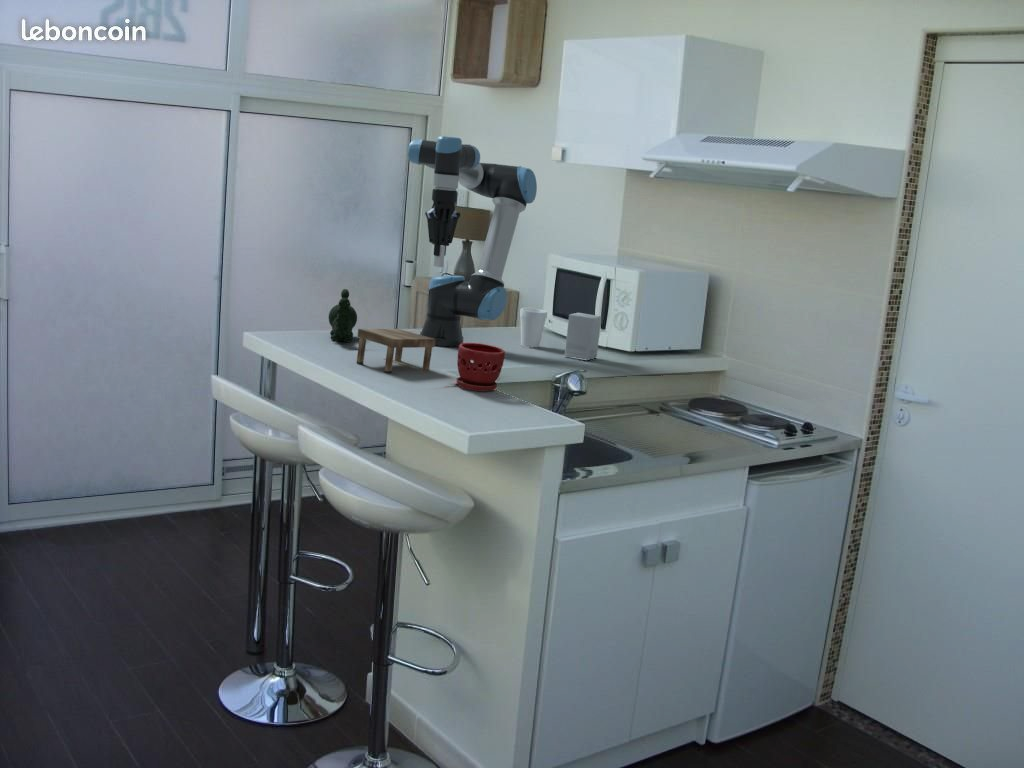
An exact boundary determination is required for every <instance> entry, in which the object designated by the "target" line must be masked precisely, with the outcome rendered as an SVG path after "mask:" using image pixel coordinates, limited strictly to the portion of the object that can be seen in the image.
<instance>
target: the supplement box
mask: <svg viewBox="0 0 1024 768" xmlns="http://www.w3.org/2000/svg"><path fill="white" fill-rule="evenodd" d="M601 324H602V315H601V316H600V315H596V314H595V315H594V314H591V313H589V314H588V313H583V312H576V313H575V312H574V313H570V314H568V322H567V329H566V330H567V331H566V341H565V348H564V356H567V357H576V358H582V359H586V360H590V359H593V358H596V357H597V358H598V350H599V342H600V341H599V340H600V332H601ZM597 358H596V359H597ZM593 360H594V359H593ZM590 361H591V360H590Z"/></svg>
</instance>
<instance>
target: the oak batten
mask: <svg viewBox="0 0 1024 768" xmlns="http://www.w3.org/2000/svg"><path fill="white" fill-rule="evenodd" d="M383 360H384V361H386V358H383ZM393 363H394V364H398V365H399V366H404V367H406V368H410V369H413V370H415V371H419V372H420V371H421V372H423V373H430V370H423V368H419V367H416V366H413V365H410V364H407V363H403V362H402V361H398V362H397V361H395V359H393Z"/></svg>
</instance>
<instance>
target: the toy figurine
mask: <svg viewBox="0 0 1024 768" xmlns="http://www.w3.org/2000/svg"><path fill="white" fill-rule="evenodd" d="M340 297H341V298H340V299H339V302H338V303H337V304H336V305H334V306H333V307H332V308H331V309H330V311H329V312H328V322H329V325H330V326H331V330H330V332H329V334H330V339H331V341H332V342H336V341H345V342H348V343H351V342H352V341H353V337H354V333H353V328H355V326H356V325H357V322H358V314H357V312H356V310H355V308H354V307H353V306H352V305H351V301H350V299H349V297H350V291H349V289H346V288H343V289H342V290H341V293H340Z"/></svg>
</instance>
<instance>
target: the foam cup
mask: <svg viewBox="0 0 1024 768" xmlns="http://www.w3.org/2000/svg"><path fill="white" fill-rule="evenodd" d="M519 310H520V311H519V316H520V346H521V345H522V346H526V347H540V344H541V341H542V336H543V333H544V328H545V323H546V319H547V317H548V311H547V310H545V309H540V308H534V307H533V308H532V307H521V308H520V309H519ZM522 346H521V347H522ZM526 347H525V348H526Z"/></svg>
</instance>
